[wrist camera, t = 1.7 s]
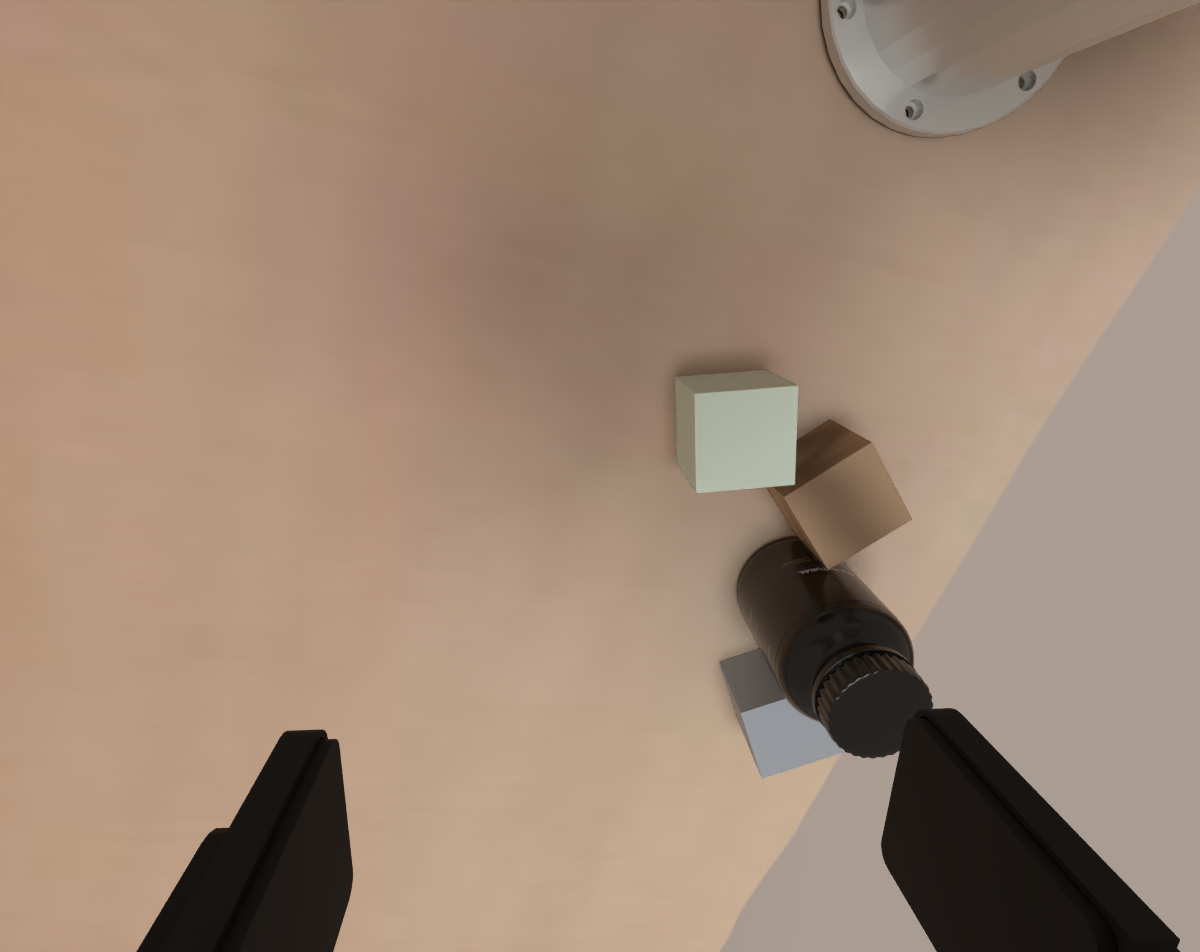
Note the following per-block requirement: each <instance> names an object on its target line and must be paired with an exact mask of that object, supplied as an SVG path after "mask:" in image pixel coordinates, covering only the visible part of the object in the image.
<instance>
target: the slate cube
mask: <svg viewBox="0 0 1200 952" xmlns="http://www.w3.org/2000/svg"><path fill="white" fill-rule="evenodd" d="M719 663H720V666H721V669H722V672H723V675H724V678H725V681H726V684H727V687H728V691H729V694H730V697H731V700H732V703H733V706H734V709H735V712H736V715H737V718H738V721H739V724H740V726H741V729H742V731H743V734H744V736H745V739H746V741H747V743H748V746H749V748H750V751H751V753H752V756H753V758H754V761H755V763H756V765H757V768H758V770H759V773H760V775H761V778H765V777H768V776H771V775H775V774H778V773H781V772H784V771H787V770H790V769H793V768H796V767H799V766H802V765H806V764H809V763H812V762H815V761H818V760H821V759H824V758H827V757H830V756H833V755H836V754H840V753H843V750H842V748H839V747H838V746H837V745H836V743H835V742H834V741H833V740H832V739H831V737H830V736H829V734H828V732H827V730H826V729H825V727H824V726H823V725H822V724H821V723H820V722H817V721H815V720H812V719H810V718H808V717H806V716H804V715H803V714H801V713H800V712H798V711H797V710H796V709H795V708H794V707H793V706H792V705H791V704H790V703H789V702H788V701H787V700H786V698H785V696H784V695H783V693H782V691H781V690H780V688H779V686H778V684H777V682H776V680H775V678H774V676H773V675H772V673H771V671H770V669H769V667H768V665H767V663H766V661H765V659H764V657H763V655H762V653H761V651H760V649H756V650H753V651H750V652H747V653H744V654H741V655H738V656H735V657H732V658H729V659H726V660H723V661H720V662H719Z"/></svg>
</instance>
